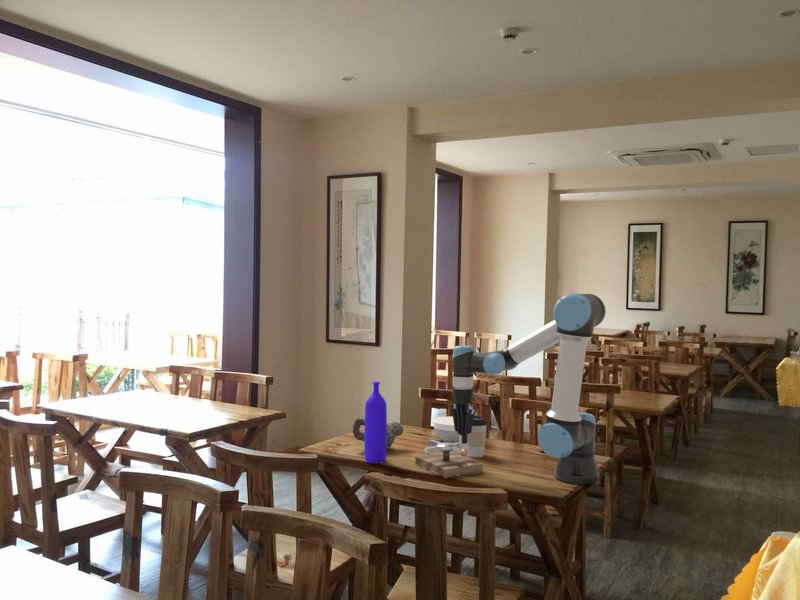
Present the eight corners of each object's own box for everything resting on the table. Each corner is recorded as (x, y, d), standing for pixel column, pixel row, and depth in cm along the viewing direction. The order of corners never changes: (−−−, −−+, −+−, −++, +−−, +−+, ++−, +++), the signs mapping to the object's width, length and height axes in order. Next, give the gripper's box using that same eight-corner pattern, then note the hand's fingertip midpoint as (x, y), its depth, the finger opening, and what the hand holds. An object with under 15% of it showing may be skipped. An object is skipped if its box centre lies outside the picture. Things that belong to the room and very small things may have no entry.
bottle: (378, 465, 250) (379, 384, 250) (359, 461, 255) (360, 382, 254) (390, 460, 258) (391, 381, 257) (372, 457, 262) (373, 379, 261)
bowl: (424, 441, 289) (424, 421, 289) (447, 434, 304) (447, 414, 304) (463, 448, 278) (463, 427, 278) (484, 440, 294) (485, 419, 294)
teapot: (399, 444, 284) (399, 408, 284) (408, 450, 273) (408, 413, 273) (349, 447, 277) (349, 410, 277) (356, 454, 266) (357, 415, 266)
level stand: (482, 472, 243) (483, 453, 243) (445, 478, 235) (445, 458, 235) (451, 459, 260) (451, 441, 260) (415, 464, 252) (415, 446, 252)
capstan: (486, 452, 244) (487, 446, 244) (445, 460, 232) (445, 453, 232) (449, 441, 260) (449, 435, 260) (408, 448, 249) (409, 441, 249)
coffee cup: (485, 458, 262) (486, 420, 261) (462, 457, 264) (462, 418, 263) (487, 453, 271) (487, 415, 270) (464, 451, 272) (465, 414, 272)
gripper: (481, 389, 246) (481, 454, 246) (461, 385, 257) (461, 447, 257) (464, 390, 242) (464, 456, 243) (444, 386, 253) (444, 449, 253)
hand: (462, 451), depth 250 cm, fingers closed
